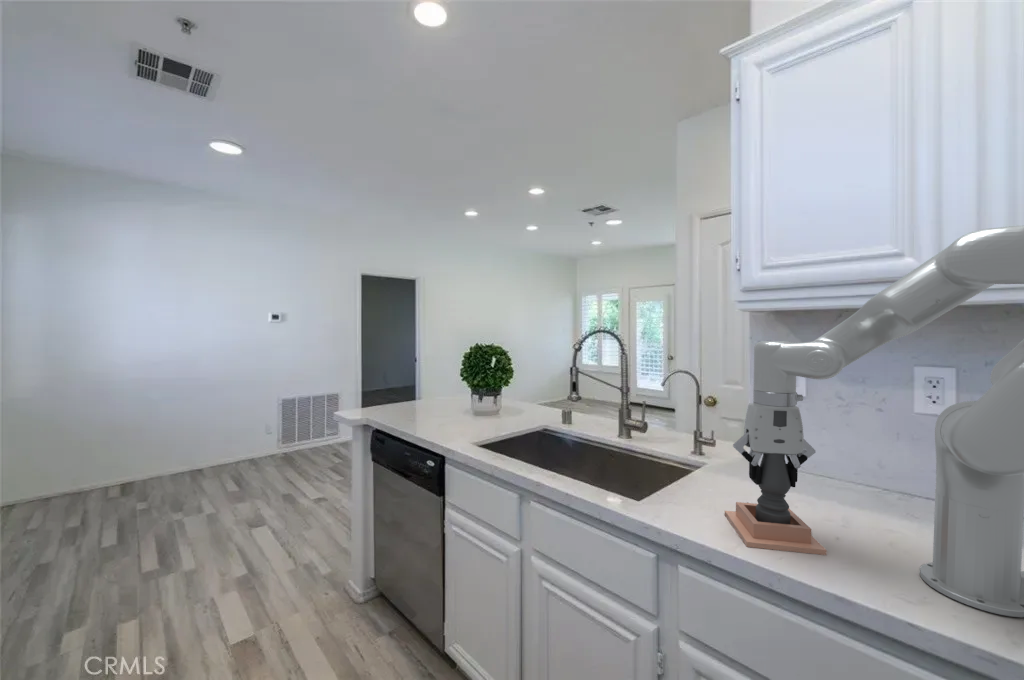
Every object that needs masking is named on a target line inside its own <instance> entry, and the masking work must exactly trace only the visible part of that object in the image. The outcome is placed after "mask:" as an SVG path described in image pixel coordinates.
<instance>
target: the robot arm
mask: <svg viewBox="0 0 1024 680" xmlns="http://www.w3.org/2000/svg"><path fill="white" fill-rule="evenodd" d="M994 285H1024V225H1023V224H1022V225H1013V226H1001V227H991V228H983V229H978V230H974V231H971V232H968V233H966V234H964V235H962V236H960V237H959V238H957V239H955V240H954V241H953V242H952V243H950V244H949V245H948V246H947V247H945V248H944V249H942V250H941V251H940V252H938V253H937V254H935V255H934V256H932V257H931V258H929V259H928V260H926V261H925V262H923V263H922V264H920V265H919V266H917V267H916V268H914V269H913V270H911V271H910V272H908V273H907V274H905V275H903V276H902V277H901V278H899V279H897V280H896V281H894V282H893V283H892V284H890V285H888V286H887V287H885V288H884V289H881V291H879V292H878V293H876V294H875V295H874V296H872V297H871V298H869V300H867V301H866V302H865V303H864V304H863V305H862V306H861V307H860V308H859V309H858V310H856V311H855V312H854V313H853V314H852V315H850V316H849V317H848V318H846V319H844V320H843V321H842V322H840V323H839V324H837V325H836V326H834V327H833V328H831V329H830V330H828V331H827V332H825V333H824V334H822V335H820V336H819V337H817V338H816V339H814V340H812V341H805V342H791V341H783V340H762V341H758V342H756V343H755V345H754V348H753V390H752V391H753V396H752V397H753V399H752V401H753V402H751V403H749V404H748V405H747V408H746V413H745V419H744V428H743V435H742V436H741V437H740V438H739V439H738V440H737V441H736V442H734V443H733V444H732V447H733V448H734V449H735V450H736V451H737V452H738V453H739V454H740V455H741V456H742V457H743V458H744V459H745V460H746V461H747V462H748V465H749V466H748V475H749V479H751V481H752V482H753V483H754V484H755V485H758V486H759V484H760V478H761V467H760V465H759V462H760V460H761V459H762V457H763V453H766V454H774V453H778V454H784V455H785V459H786V460H787V461H786V462H787V463H786V466H787V470H788V474H789V478H790V482H791V487H790V488H796V483H797V482H798V477H799V475H798V469H800V468H801V465H802V464H805V462H806V461H808V459H809V458H811V457H812V456H814V454H816V449H815V448H814V447H812V445H811V444H809V442H807V440H806V439H805V438H804V426H803V425H804V424H803V420H802V419H803V418H802V416H801V410H800V408H799V406H797V405H798V403H797V402H802V401H804V396H803V394H798V392H797V377H800V378H805V379H812V380H817V381H819V380H820V381H821V380H829V379H831V378H832V379H833V378H835V377H836V376H837V375H839V374H840V373H841V372H842V370H843V369H844V368H846V367H847V366H849V365H850V364H852V363H854V362H856V361H857V360H859V359H861V358H862V357H864V356H865V355H867V354H869V353H870V352H873V351H875V350H876V349H878V348H879V347H881V346H883V345H886V344H887V343H890V342H892V341H895V340H897V339H900V338H902V337H903V338H904V337H905V336H908V335H910V334H911V333H914V332H916V331H917V330H919V329H922V328H923V327H925V326H926V325H928V324H930V323H932V322H933V321H934V320H936V319H938V318H939V317H941V316H943V315H944V314H947V312H949V311H952V310H953V309H955V308H956V307H959V306H960V305H961V304H963V303H964V302H966V301H968V300H970V299H972V298H974V297H975V296H977V295H979V294H980V293H982V292H984V291H985V290H987V289H989V288H990V287H992V286H994ZM990 382H991V383H990V384H991V385H992V386H991V387H990V388H989V389H987V390H986V392H985V393H984V394H982V396H981V397H980V398H979V399H978V400H977V401H976V400H969V401H968V400H967V401H961V402H957V403H955V404H954V403H953V404H952V405H950V406H948V407H946V408H945V409H943V410H942V411H941V413H939V415H938V417H937V419H936V422H935V427H934V445H935V447H934V448H935V489H934V490H935V491H934V513H933V514H934V517H933V519H934V520H933V542H932V543H933V546H932V562H926V563H924V564H922V565H920V567H919V575H920V578H921V579H922V580H923V581H924V582H925V583H926V584H927V585H928V586H929V587H931V588H933V589H934V590H936V591H937V592H938V593H941V594H943V595H944V596H946V597H948V598H950V599H952V600H954V601H956V602H959V603H962V604H965V605H966V606H969V607H973V608H975V609H978V610H982V611H985V612H988V613H991V614H997V615H1000V616H1006V617H1010V618H1011V617H1012V618H1013V617H1014V618H1024V570H1022V563H1023V561H1022V560H1023V539H1024V538H1023V537H1024V535H1023V534H1024V533H1023V532H1024V338H1022V340H1021V341H1020V342H1018V343H1017V345H1016V346H1014V347H1013V348H1011V350H1010V351H1009V352H1008V353H1007V354H1006V355H1003V357H1002V358H1001V359H999V360H998V361H997V362H996V364H995V365H994V366H993V367H992V370H991V373H990ZM774 411H787V426H786V427H777V426H773V418H774ZM779 429H781V430H779ZM777 439H781V440H785V443H774V440H777ZM744 447H748V448H750V451H749V452H748V451H747V450H746V449H745V448H744Z"/></svg>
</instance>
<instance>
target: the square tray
mask: <svg viewBox="0 0 1024 680" xmlns="http://www.w3.org/2000/svg"><path fill="white" fill-rule="evenodd" d="M757 504H758V503H753V502H751V503H750V502H741V501H736V502H735V511H732V510H724V516H725V518H726V519H727V521H728V522H729V523H730V525H731V526H732V528H733V529H734V530H735V532H736V533H737V534H738V536H739V537H740V539H741V541H742V540H743V541H742V543H743V544H744V545H745V547H747V548H753V549H763V548H764V550H772V549H773V550H772V551H784V552H794V553H803V554H812V555H821V556H827V552H828V550H827V549H826V548H825V547H824V546H823V545H822V544H821V543H820V542H819V541H818V540H817V539H816V538H815V537H814V536H813V535H812V528H811V527H810V526H809V525H807V524H806V523H805V521H804V520H802V519H801V518H800V517H799V516H798V515H797V514H796V513H795V512H794V511H793V510H791V509H790V508H789V509H788V511H789V512H790V524H779V523H768V522H758V521H757V520H756V505H757Z"/></svg>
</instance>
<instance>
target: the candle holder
mask: <svg viewBox="0 0 1024 680" xmlns="http://www.w3.org/2000/svg"><path fill="white" fill-rule="evenodd" d="M773 426H777V427H786V426H787V411H774V418H773ZM779 430H781V429H779ZM774 443H785V440H781V439H777V440H774ZM760 460H761V461H760V465H759V466H760V467H761V478H760V484H759V485H758V487H759V489H760V493H761V495H760V496H759V497H758V498H757V499H756V502H757V503H756V504H757V505H756V520H757V521H758V522H768V523H779V524H790V512H789V511H788V509H790V505H789V503H788V502H787V500H786V499H785V498H786V496H787V495H786V494H787V493H788V492H789V491H790V490H791V488H792V487H791V482H790V478H789V474H788V470H787V466H786V464H787V461H786V456H785V455H784V454H778V453H774V454H766V453H763V454H762V456H761V459H760Z"/></svg>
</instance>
